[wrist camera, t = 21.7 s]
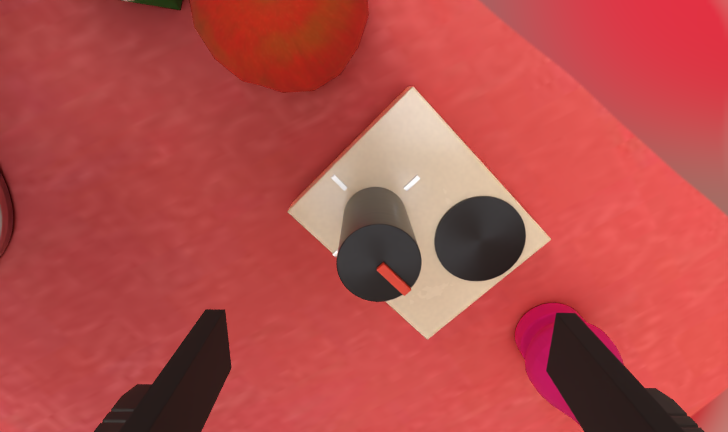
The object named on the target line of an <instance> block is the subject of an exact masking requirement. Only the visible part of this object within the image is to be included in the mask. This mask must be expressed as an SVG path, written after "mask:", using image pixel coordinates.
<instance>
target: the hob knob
mask: <svg viewBox="0 0 728 432" xmlns="http://www.w3.org/2000/svg"><path fill="white" fill-rule="evenodd" d="M421 265H422V259H421V253H420V250H419V247H418V244H417V241H416V238H415V235H414V232H413V229H412V226H411V223H410V220H409V217H408V214H407V211H406V208H405V206H404V204H403V202H402V200H401V199H400V198H399V196H398V195H396V194H395V193H394V192H392V191H391V190H389V189H386V188H382V187H368V188H365V189H362V190H360V191H358V192H357V193H355V194H354V195H353V196H352V197H351V198H350V199H349V201H348V202H347V204H346V207H345V210H344V215H343V222H342V228H341V235H340V241H339V248H338V254H337V271H338V275H339V277H340V279H341V281H342V283H343V284H344V286H345V287H346V288H347V289H348V290H349V291H350V292H352V293H353V294H354V295H356V296H358V297H360V298H362V299H365V300H369V301H376V302H382V301H389V300H392V299H395V298H398V297H400V296H401V295H404V296H405V295H406V294H408V293H409V292H410V291H411V288H412V286H413V285H414V284H415V282H416V281H417V279H418V277H419V274H420V271H421Z"/></svg>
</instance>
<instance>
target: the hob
mask: <svg viewBox="0 0 728 432" xmlns="http://www.w3.org/2000/svg"><path fill="white" fill-rule="evenodd" d="M368 187H382V188H386V189H389V190H391V191H392V192H394V193H395V194H396V195H398V196H399V198H400V199H401V200H402V202H403V204H404V206H405V208H406V211H407V214H408V217H409V220H410V223H411V226H412V229H413V232H414V235H415V238H416V241H417V244H418V247H419V250H420V253H421V259H422V265H421V271H420V274H419V277H418V279H417V281H416V282H415V284H414V285H413V286H412V288H411V291H410V292H409V293H408V294H406V295H405V296H404V295H401V296H400V297H398V298H395V299H392V300H389V301H385V302H386V303H388V304H389V305H390V306H391V307H392V308H393V309H394V310H395V311H396V312H397V313H398V314H400V315H401V316H402V317H403V318H404V319H405V320H406V321H407V322H408V323H409V324H411V325H412V326H413V327H414V328H415V329H416V330H417V331H418V332H419V333H420V334H421V335H423V336H424V337H425V338H426V339H429V338H430V337H431V336H433V335H434V334H435V333H436V332H438V331H439V330H440V329H441V328H442V327H444V326H445V325H446V324H447V323H449V322H450V321H451V320H452V319H454V318H455V317H456V316H457V315H459V314H460V313H461V312H462V311H464V310H465V309H466V308H467V307H468V306H470V305H471V304H472V303H473V302H475V301H476V300H477V299H478V298H480V297H481V296H482V295H483V294H485V293H486V292H487V291H488V290H490V289H491V288H492V287H493V286H494V285H496V284H497V283H498V282H499V281H501V280H502V279H503V278H504V277H506V276H507V275H508V274H509V273H511V272H512V271H513V270H514V269H516V268H517V267H518V266H519V265H520V264H522V263H523V262H524V261H525V260H527V259H528V258H529V257H530V256H532V255H533V254H534V253H535V252H537V251H538V250H539V249H540V248H542V247H543V246H544V245H545V244H546V243H548V242H549V241H550V240H551V238H550V237H549V236H548V235H547V234H546V233H545V232H544V230H543V229H542V228H541V227H540V226H539V225H538V224H537V223H536V222H535V221H534V219H533V218H532V217H531V216H530V215H529V214H528V213H527V212H526V211H525V209H524V208H523V207H522V206H521V205H520V204H519V203H518V202H517V201H516V199H515V198H514V197H513V196H512V195H511V194H510V193H509V192H508V191H507V190H506V188H505V187H504V186H503V185H502V184H501V183H500V182H499V181H498V180H497V178H496V177H495V176H494V175H493V174H492V173H491V172H490V171H489V170H488V168H487V167H486V166H485V165H484V164H483V163H482V162H481V161H480V160H479V159H478V157H477V156H476V155H475V154H474V153H473V152H472V151H471V150H470V149H469V147H468V146H467V145H466V144H465V143H464V142H463V141H462V140H461V139H460V137H459V136H458V135H457V134H456V133H455V132H454V131H453V130H452V129H451V128H450V126H449V125H448V124H447V123H446V122H445V121H444V120H443V119H442V118H441V116H440V115H439V114H438V113H437V112H436V111H435V110H434V109H433V108H432V107H431V105H430V104H429V103H428V102H427V101H426V100H425V99H424V98H423V97H422V95H421V94H420V93H419V92H418V91H417V90H416V89H415V88H414V87H413V86H408V87H407V88H406V89H405V90H404V91H403V92H402V93H401V94H400V95H399V96H398V97H397V98H396V99H395V100H394V101H393V102H392V103H391V104H390V105H389V106H388V107H387V108H386V109H385V110H384V111H383V112H382V113H381V114H380V115H379V116H378V117H377V118H376V119H375V120H374V121H373V122H372V123H371V124H370V125H369V126H368V127H367V128H366V129H365V130H364V131H363V132H362V133H361V134H360V135H359V136H358V137H357V138H356V139H355V140H354V141H353V142H352V143H351V144H350V145H349V146H348V147H347V148H346V149H345V150H344V151H343V152H342V153H341V154H340V155H339V156H338V157H337V158H336V159H335V160H334V161H333V162H332V163H331V164H330V165H329V166H328V167H327V168H326V169H325V170H324V171H323V172H322V173H321V174H320V175H319V176H318V177H317V178H316V179H315V180H314V181H313V182H312V183H311V184H310V185H309V186H308V187H307V188H306V189H305V190H304V191H303V192H302V193H301V194H300V195H299V196H298V197H297V198H296V199H295V200H294V201H293V203H292V205H291V206H290V208H289V210H288V211H287V212H288V213H289V214H290V215H291V216H292V217H293V218H294V219H296V220H297V221H298V222H299V223H300V224H301V225H302V226H303V227H304V228H305V229H306V230H308V231H309V232H310V233H311V234H312V235H313V236H314V237H315V238H316V239H317V240H319V241H320V242H321V243H322V244H323V245H324V246H325V247H326V248H327V249H328V250H329V251H331V252H332V253H333V254H332V255H333V256H335V257H337V254H338V248H339V241H340V235H341V228H342V222H343V215H344V210H345V207H346V204H347V202H348V201H349V199H350V198H351V197H352V196H353V195H354V194H355V193H357V192H358V191H360V190H362V189H365V188H368ZM476 196H491V197H496V198H499V199H501V200H503V201H505V202H507V203H509V204H510V205H511V206H513V207H514V208H515V209H516V210H517V212H518V213H519V214H520V216H521V218H522V220H523V222H524V225H525V230H526V241H525V246H524V249H523V252H522V254H521V256H520V257H519V259H518V260H517V262H516V263H515V264H514V265H513V266H512V267H511V268H510V269H509V270H508V271H506V272H505V273H504V274H502V275H500V276H498V277H496V278H493V279H490V280H486V281H467V280H463V279H460V278H458V277H456V276H454V275H452V274H451V273H449V272H448V271H447V270H446V269H445V268H444V267H443V266H442V264H441V263H440V261H439V259H438V257H437V254H436V251H435V245H434V238H435V232H436V229H437V226H438V224H439V222H440V220H441V218H442V217H443V216H444V214H445V213H446V212H447V211H448V210H449V209H450V208H451V207H453V206H454V205H455V204H457V203H459V202H461V201H463V200H465V199H468V198H471V197H476Z"/></svg>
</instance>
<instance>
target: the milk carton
mask: <svg viewBox="0 0 728 432" xmlns="http://www.w3.org/2000/svg"><path fill="white" fill-rule="evenodd" d="M122 1H128V2H134V3H140V4H146V5H152V6H158V7H164V8H171V9H176V10H181V5H182V0H122Z"/></svg>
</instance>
